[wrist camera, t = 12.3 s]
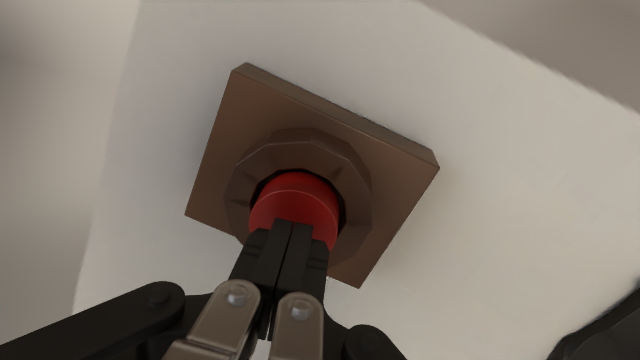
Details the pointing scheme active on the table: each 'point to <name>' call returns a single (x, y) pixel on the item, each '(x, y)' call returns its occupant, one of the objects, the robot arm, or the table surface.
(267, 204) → the button
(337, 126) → the button block
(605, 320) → the fan shaped piece
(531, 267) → the table surface
